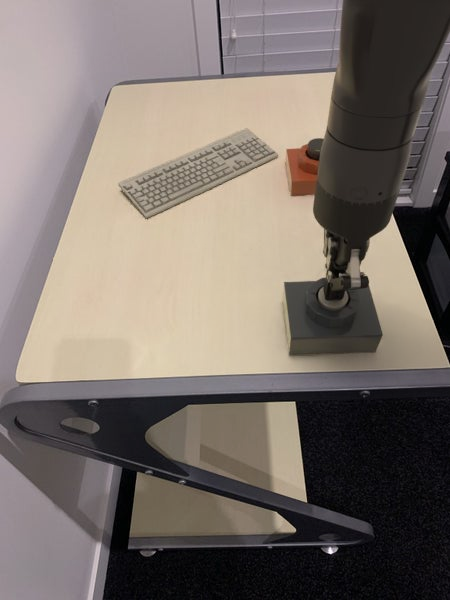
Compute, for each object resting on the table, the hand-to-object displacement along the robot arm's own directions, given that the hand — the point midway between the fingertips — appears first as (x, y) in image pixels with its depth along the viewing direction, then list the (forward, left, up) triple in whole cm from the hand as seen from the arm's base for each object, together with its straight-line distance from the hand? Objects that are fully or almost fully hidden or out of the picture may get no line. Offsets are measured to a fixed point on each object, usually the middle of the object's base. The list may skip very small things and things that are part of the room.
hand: (332, 295), depth 52 cm
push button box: (0, 0, -6) cm, 6 cm away
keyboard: (+18, -36, -6) cm, 41 cm away
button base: (-3, -33, -6) cm, 34 cm away
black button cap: (-3, -33, -2) cm, 33 cm away
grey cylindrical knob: (0, 0, -2) cm, 2 cm away
